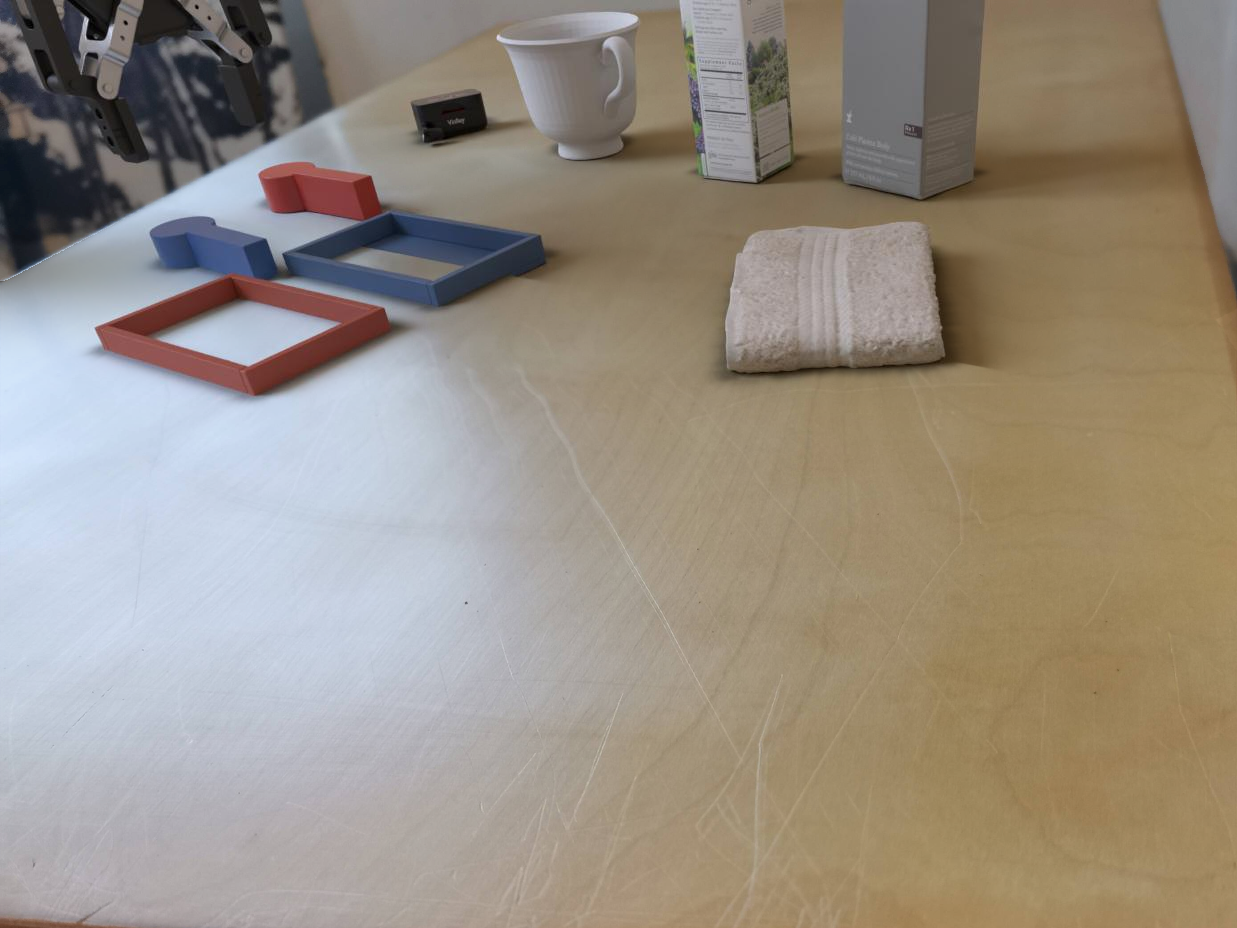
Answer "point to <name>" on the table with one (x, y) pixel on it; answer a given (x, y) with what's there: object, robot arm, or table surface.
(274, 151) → the table surface
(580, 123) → the teacup
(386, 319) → the red frame
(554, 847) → the table surface
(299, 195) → the red rounded-end block
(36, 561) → the table surface
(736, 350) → the washcloth
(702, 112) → the syrup box
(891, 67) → the cosmetic box
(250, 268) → the blue rounded-end block
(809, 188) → the table surface
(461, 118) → the black electronic device
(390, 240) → the blue frame
